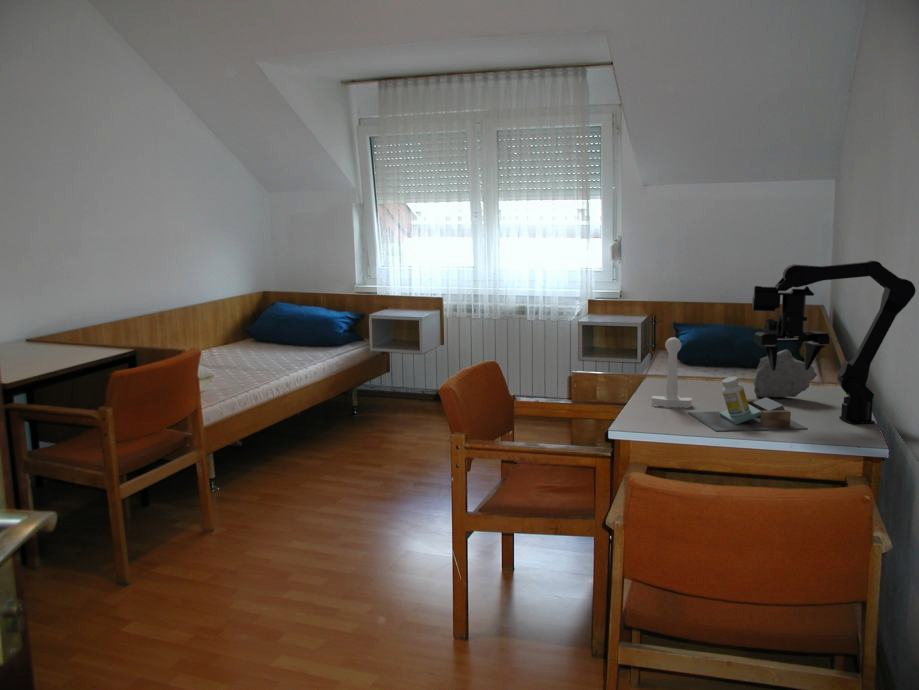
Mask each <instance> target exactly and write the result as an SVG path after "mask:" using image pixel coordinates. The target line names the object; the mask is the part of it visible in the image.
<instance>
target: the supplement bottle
mask: <svg viewBox="0 0 919 690" xmlns="http://www.w3.org/2000/svg"><path fill="white" fill-rule="evenodd" d="M721 382H722V386H723V388H722V390H721V392H722V395H723V399H724V401H725V405H726V408H727V409H728V412H729V414H730V415H731V416H741V415H744V414H746V413H748V412H749V410H750V409H749V405H748V402H747V400H748V398H747V396H746V392H745V390H744V386H743V385H742V384H741V383H739V382H740V381H739V379H738V377H737V376H729V377H725V378H724V379H722V381H721Z"/></svg>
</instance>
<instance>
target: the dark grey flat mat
mask: <svg viewBox="0 0 919 690" xmlns="http://www.w3.org/2000/svg"><path fill="white" fill-rule="evenodd" d="M760 399H761V398H758V399H757V398H755V399H747V402H748V404H749V405H751V406H753V403H752V402H755V401H757V400H760ZM753 407H754V406H753ZM719 412H720V411H689V412H688V413H689V415H690V416H691V415H692V417H693V418H694V417H695V419H696V420H697V419H698V421H699V422H700V423H702V424H704V425H705V426H707V427H708V428H710V429H711V430H713V431H714V432H715V433H716V432H717V433H719V432H754V431H757V432H758V430H761V431H790V430H791V431H792V430H793V431H795V430H800V429H801V430H808V427H806V426H804V425H802V424H801V423H799V422H796V421H794V420H793V419H791V414H792V412H791V411H790V410H788V409H786V410H767V411H761V415H760V416H758V417H755V418H752V419H750V420H747V421H744V422H742V423H739V424H736V425H734V424H733V423H731V422H729V421H728V420H726V419H725V418H723V417H721V416H720V414H719ZM801 430H800V431H801Z"/></svg>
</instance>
